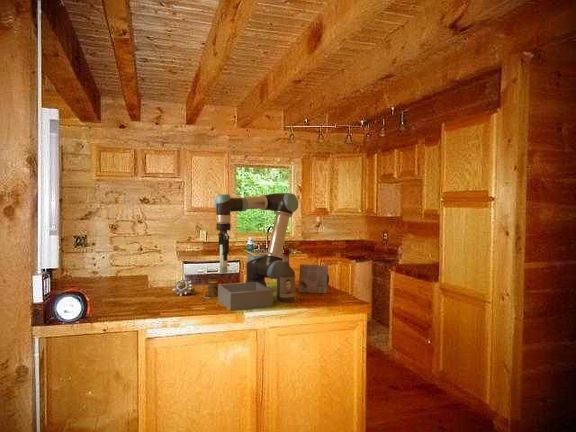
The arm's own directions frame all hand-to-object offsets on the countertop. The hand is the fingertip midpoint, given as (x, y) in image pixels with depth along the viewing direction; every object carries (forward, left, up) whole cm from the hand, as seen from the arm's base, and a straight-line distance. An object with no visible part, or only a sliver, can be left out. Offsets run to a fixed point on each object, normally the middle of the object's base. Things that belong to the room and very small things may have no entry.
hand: (223, 265), depth 214 cm
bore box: (-1, +13, -22) cm, 25 cm away
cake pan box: (-11, +63, -22) cm, 67 cm away
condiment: (-24, 0, -22) cm, 33 cm away
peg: (0, 0, -4) cm, 4 cm away
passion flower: (-35, -14, -22) cm, 44 cm away
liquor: (+2, +37, -22) cm, 43 cm away
